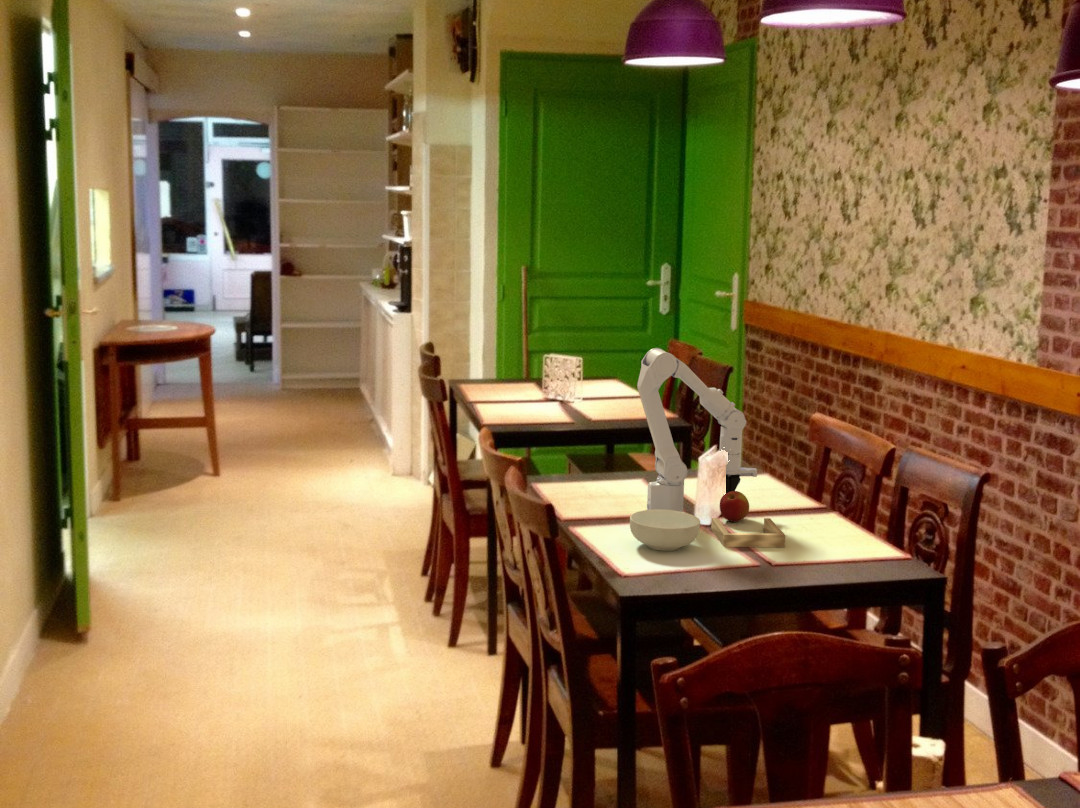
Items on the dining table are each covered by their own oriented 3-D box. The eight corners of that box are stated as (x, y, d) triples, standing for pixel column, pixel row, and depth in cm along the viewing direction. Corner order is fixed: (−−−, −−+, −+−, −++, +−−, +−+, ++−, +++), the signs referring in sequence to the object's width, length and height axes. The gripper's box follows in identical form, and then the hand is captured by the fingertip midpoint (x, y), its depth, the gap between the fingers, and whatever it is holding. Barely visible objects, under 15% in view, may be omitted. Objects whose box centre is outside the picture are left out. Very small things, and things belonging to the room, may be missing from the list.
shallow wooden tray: (723, 546, 307) (724, 534, 307) (711, 529, 323) (711, 517, 322) (784, 547, 308) (785, 535, 308) (769, 529, 324) (770, 518, 323)
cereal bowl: (642, 558, 297) (643, 529, 296) (619, 538, 313) (620, 510, 311) (710, 554, 301) (711, 525, 300) (683, 535, 317) (685, 507, 316)
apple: (712, 518, 333) (714, 489, 332) (740, 516, 336) (741, 487, 335) (727, 526, 326) (728, 495, 325) (754, 523, 329) (756, 493, 328)
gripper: (706, 455, 332) (703, 506, 334) (760, 456, 333) (758, 506, 335) (700, 449, 339) (698, 499, 341) (754, 450, 340) (751, 499, 342)
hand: (727, 502), depth 338 cm, fingers closed
